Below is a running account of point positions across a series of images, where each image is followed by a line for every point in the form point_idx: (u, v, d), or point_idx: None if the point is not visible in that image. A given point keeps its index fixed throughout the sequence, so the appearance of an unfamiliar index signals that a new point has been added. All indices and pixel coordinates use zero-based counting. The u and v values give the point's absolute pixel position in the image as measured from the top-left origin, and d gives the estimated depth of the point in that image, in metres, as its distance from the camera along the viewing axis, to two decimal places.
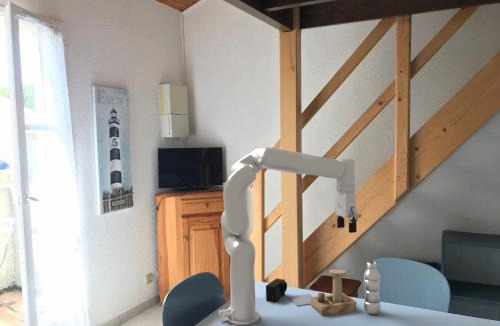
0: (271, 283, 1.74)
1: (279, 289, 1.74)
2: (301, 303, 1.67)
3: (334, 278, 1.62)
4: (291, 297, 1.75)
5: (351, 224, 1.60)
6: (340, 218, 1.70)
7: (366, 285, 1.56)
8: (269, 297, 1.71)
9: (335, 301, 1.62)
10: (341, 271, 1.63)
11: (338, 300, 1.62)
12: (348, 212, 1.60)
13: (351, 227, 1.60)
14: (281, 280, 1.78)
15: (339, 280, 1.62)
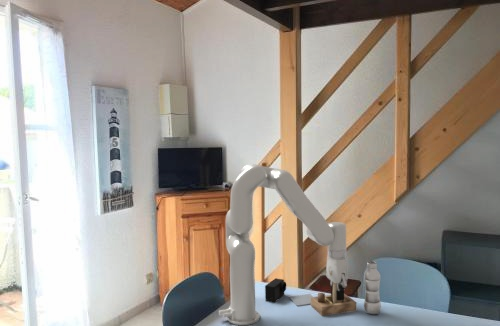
0: (270, 283, 1.74)
1: (278, 289, 1.74)
2: (301, 303, 1.67)
3: None
4: (291, 297, 1.75)
5: (339, 292, 1.60)
6: None
7: (366, 285, 1.56)
8: (268, 297, 1.71)
9: (335, 301, 1.62)
10: None
11: (338, 300, 1.62)
12: (339, 279, 1.58)
13: (339, 295, 1.60)
14: (280, 280, 1.78)
15: None
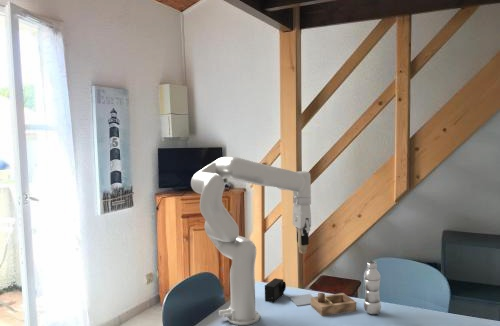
0: (270, 283, 1.74)
1: (278, 289, 1.74)
2: (301, 303, 1.67)
3: None
4: (291, 297, 1.75)
5: (303, 237, 1.68)
6: None
7: (366, 285, 1.56)
8: (267, 297, 1.71)
9: (300, 246, 1.70)
10: None
11: (303, 245, 1.69)
12: (303, 223, 1.65)
13: (303, 240, 1.68)
14: (280, 280, 1.78)
15: None
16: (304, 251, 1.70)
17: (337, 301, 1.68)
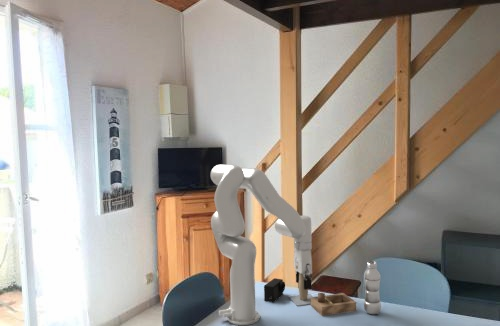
0: (269, 283, 1.74)
1: (277, 289, 1.74)
2: (301, 303, 1.67)
3: None
4: (291, 297, 1.75)
5: (306, 281, 1.67)
6: None
7: (366, 285, 1.56)
8: (267, 297, 1.72)
9: (301, 293, 1.71)
10: None
11: (303, 292, 1.70)
12: (303, 269, 1.66)
13: (306, 284, 1.67)
14: (279, 280, 1.78)
15: None
16: (305, 298, 1.71)
17: (337, 301, 1.68)
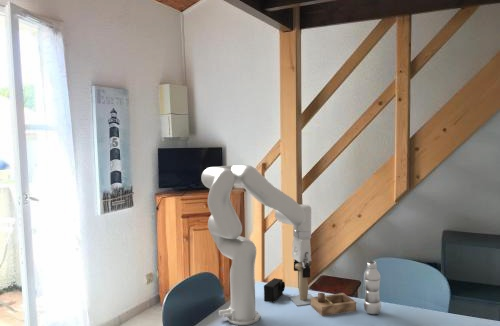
0: (269, 283, 1.74)
1: (277, 289, 1.74)
2: (301, 303, 1.67)
3: (300, 271, 1.71)
4: (291, 297, 1.75)
5: (305, 269, 1.65)
6: (297, 261, 1.75)
7: (366, 285, 1.56)
8: (267, 297, 1.72)
9: (301, 293, 1.71)
10: None
11: (303, 292, 1.70)
12: (302, 258, 1.66)
13: (305, 272, 1.66)
14: (279, 280, 1.78)
15: None
16: (305, 298, 1.71)
17: (337, 301, 1.68)
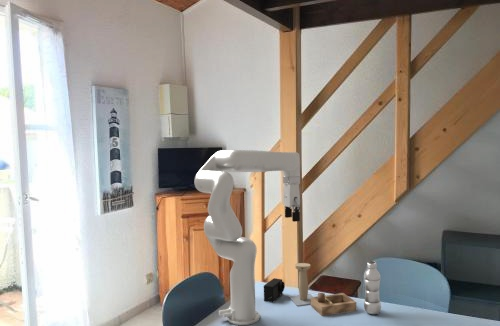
0: (269, 283, 1.75)
1: (277, 289, 1.74)
2: (301, 303, 1.67)
3: (300, 271, 1.71)
4: (291, 297, 1.75)
5: (294, 213, 1.71)
6: (287, 208, 1.81)
7: (366, 285, 1.56)
8: (266, 297, 1.72)
9: (301, 293, 1.71)
10: (306, 264, 1.71)
11: (303, 292, 1.70)
12: (291, 202, 1.71)
13: (294, 216, 1.71)
14: (279, 280, 1.78)
15: (304, 273, 1.70)
16: (305, 298, 1.71)
17: (337, 301, 1.68)
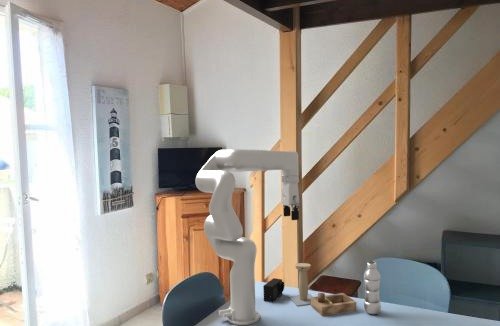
0: (268, 283, 1.75)
1: (276, 289, 1.74)
2: (301, 303, 1.67)
3: (300, 271, 1.71)
4: (291, 297, 1.75)
5: (293, 212, 1.72)
6: (286, 207, 1.82)
7: (366, 285, 1.56)
8: (266, 297, 1.72)
9: (301, 293, 1.71)
10: (306, 264, 1.71)
11: (303, 292, 1.70)
12: (290, 201, 1.72)
13: (293, 215, 1.72)
14: (278, 280, 1.78)
15: (304, 273, 1.70)
16: (305, 298, 1.71)
17: (337, 301, 1.68)
